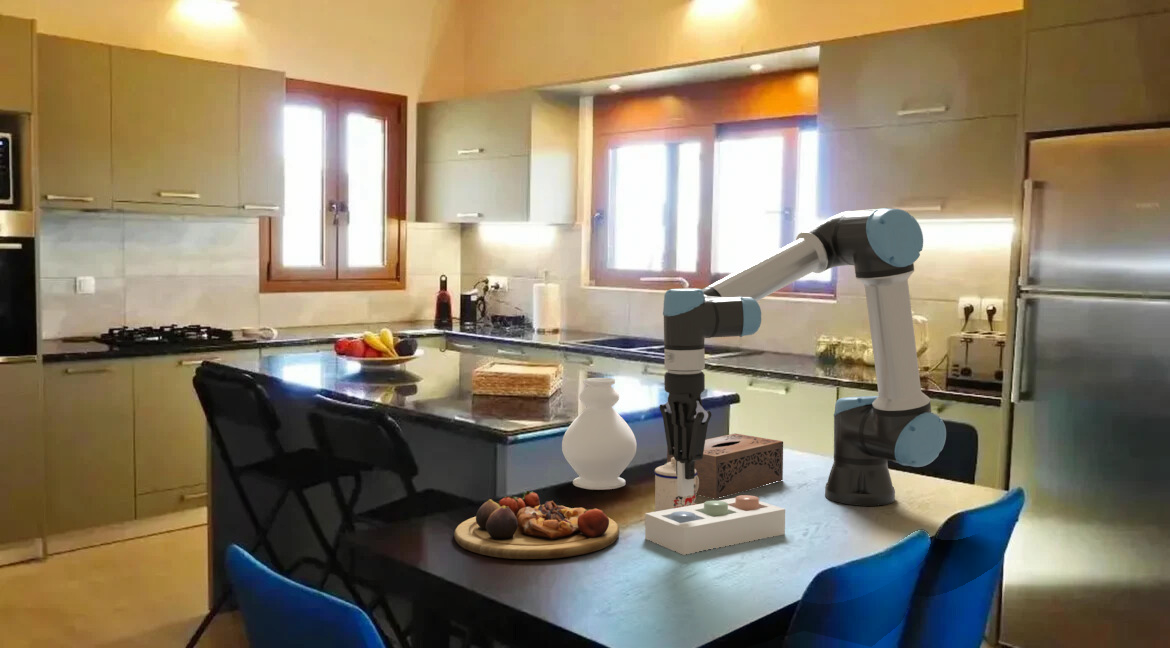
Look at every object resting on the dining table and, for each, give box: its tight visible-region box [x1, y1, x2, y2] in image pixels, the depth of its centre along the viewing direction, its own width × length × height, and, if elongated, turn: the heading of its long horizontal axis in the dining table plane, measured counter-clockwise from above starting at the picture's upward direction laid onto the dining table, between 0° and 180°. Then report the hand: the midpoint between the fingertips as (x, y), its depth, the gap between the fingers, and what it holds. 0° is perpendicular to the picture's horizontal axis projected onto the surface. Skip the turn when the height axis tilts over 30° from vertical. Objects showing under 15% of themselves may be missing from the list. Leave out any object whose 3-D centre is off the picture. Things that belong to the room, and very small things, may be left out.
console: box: [644, 497, 786, 556], centre depth 188 cm, size 25×12×5 cm, turn 122°
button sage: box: [703, 500, 728, 517], centre depth 187 cm, size 5×5×4 cm
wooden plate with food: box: [453, 490, 620, 560], centre depth 188 cm, size 32×32×8 cm
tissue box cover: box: [666, 433, 784, 500], centre depth 230 cm, size 26×14×10 cm, turn 133°
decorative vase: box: [561, 377, 637, 491], centre depth 231 cm, size 18×18×25 cm
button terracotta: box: [734, 494, 760, 511], centre depth 192 cm, size 5×5×4 cm
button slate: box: [671, 511, 695, 523], centre depth 183 cm, size 5×5×4 cm
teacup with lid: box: [653, 457, 699, 512], centre depth 207 cm, size 12×9×12 cm
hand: (685, 494), depth 183 cm, fingers closed
